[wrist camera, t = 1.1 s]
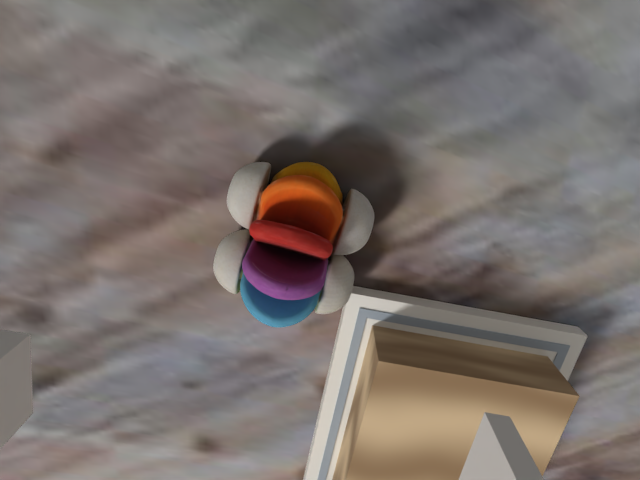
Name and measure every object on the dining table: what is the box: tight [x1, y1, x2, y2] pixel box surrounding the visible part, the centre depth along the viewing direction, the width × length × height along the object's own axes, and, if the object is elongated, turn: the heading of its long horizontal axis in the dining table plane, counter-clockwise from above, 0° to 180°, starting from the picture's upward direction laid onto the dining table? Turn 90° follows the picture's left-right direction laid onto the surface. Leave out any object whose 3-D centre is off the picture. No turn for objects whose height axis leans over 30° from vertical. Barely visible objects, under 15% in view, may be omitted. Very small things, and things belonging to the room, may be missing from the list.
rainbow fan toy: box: [213, 162, 374, 327], centre depth 25 cm, size 8×10×7 cm
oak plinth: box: [332, 325, 579, 480], centre depth 30 cm, size 14×12×4 cm
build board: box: [303, 286, 588, 480], centre depth 32 cm, size 18×16×1 cm
